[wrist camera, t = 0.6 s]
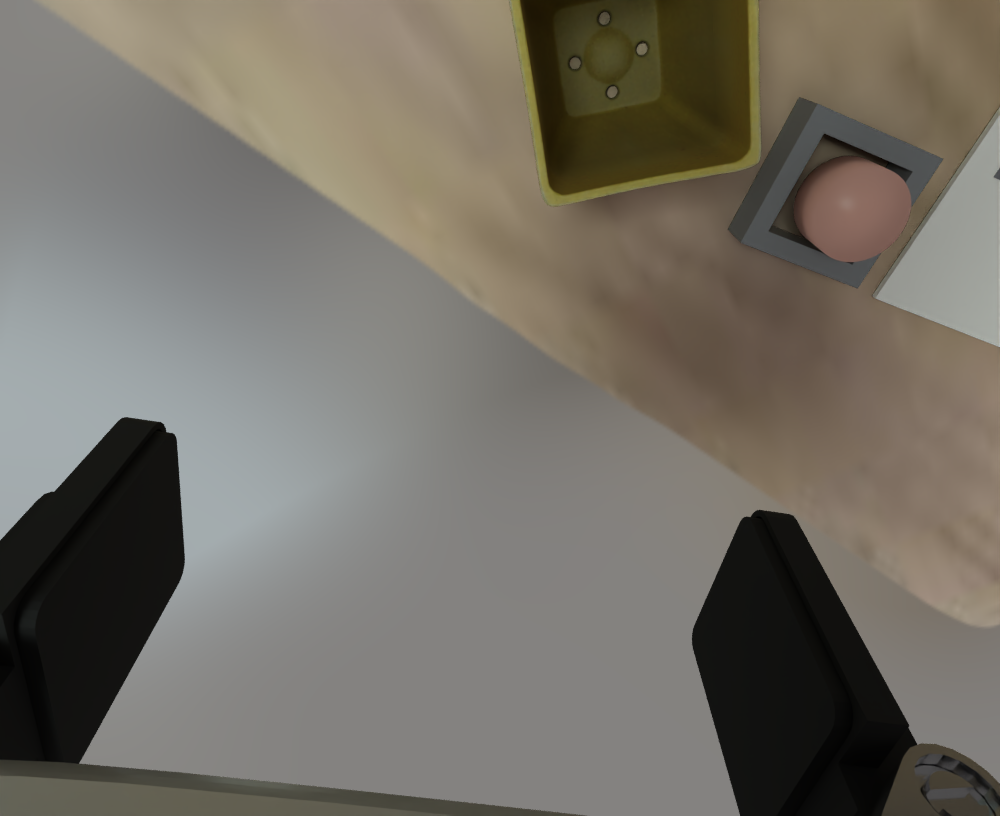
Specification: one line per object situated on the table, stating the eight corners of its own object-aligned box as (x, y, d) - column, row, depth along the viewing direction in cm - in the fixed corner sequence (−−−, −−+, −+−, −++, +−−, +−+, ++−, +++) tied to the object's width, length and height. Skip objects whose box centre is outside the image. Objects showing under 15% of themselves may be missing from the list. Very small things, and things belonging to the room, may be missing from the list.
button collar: (799, 97, 35) (817, 103, 33) (918, 149, 36) (943, 158, 34) (727, 229, 38) (740, 242, 36) (839, 273, 40) (857, 288, 37)
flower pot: (697, -76, 32) (760, -98, 24) (707, 130, 36) (763, 168, 28) (503, -31, 32) (502, -39, 25) (535, 164, 37) (543, 210, 29)
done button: (825, 141, 34) (848, 152, 32) (903, 175, 35) (931, 187, 32) (776, 228, 36) (794, 243, 34) (850, 257, 37) (873, 274, 34)
